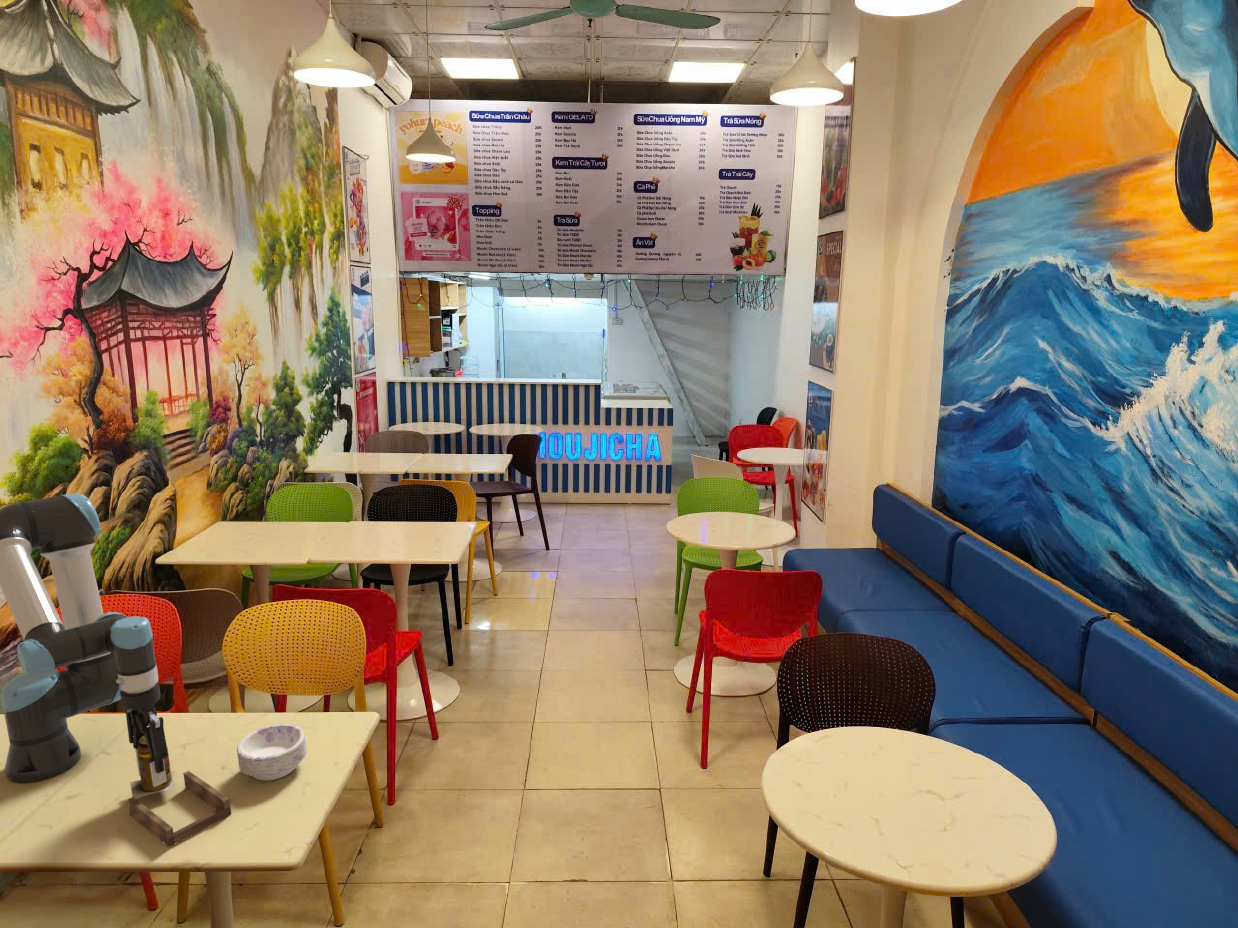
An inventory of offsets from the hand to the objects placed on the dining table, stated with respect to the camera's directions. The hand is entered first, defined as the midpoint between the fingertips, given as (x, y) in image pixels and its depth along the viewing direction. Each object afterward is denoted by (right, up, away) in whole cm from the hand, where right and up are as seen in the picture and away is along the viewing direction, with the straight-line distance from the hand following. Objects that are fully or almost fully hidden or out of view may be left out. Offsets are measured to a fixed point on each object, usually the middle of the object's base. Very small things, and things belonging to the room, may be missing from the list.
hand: (152, 778), depth 187 cm
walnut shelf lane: (+9, -6, -6) cm, 13 cm away
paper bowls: (+23, -2, +11) cm, 26 cm away
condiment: (0, -2, +1) cm, 2 cm away
